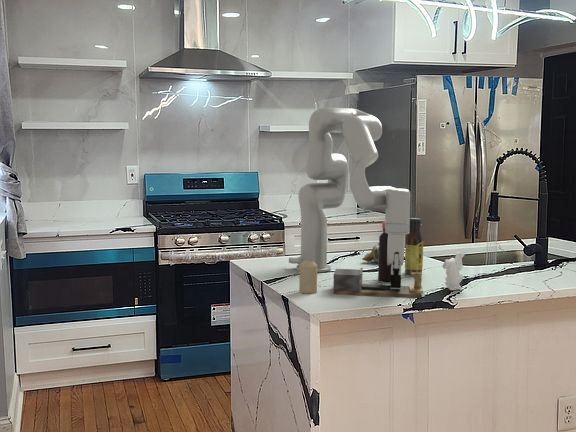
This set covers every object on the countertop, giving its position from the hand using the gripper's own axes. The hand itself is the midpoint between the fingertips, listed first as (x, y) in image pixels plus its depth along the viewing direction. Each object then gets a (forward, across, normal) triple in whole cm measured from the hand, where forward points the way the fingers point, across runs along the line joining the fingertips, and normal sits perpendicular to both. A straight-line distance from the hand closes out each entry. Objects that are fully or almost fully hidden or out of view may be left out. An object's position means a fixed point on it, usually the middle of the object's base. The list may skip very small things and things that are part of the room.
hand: (395, 285), depth 211 cm
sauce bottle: (+2, -31, +7) cm, 32 cm away
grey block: (+1, 0, -5) cm, 5 cm away
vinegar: (+2, -18, -2) cm, 18 cm away
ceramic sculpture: (+3, -50, -5) cm, 50 cm away
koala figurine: (+2, -8, +19) cm, 21 cm away
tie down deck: (+2, 0, -5) cm, 6 cm away
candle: (+2, +4, -27) cm, 28 cm away
